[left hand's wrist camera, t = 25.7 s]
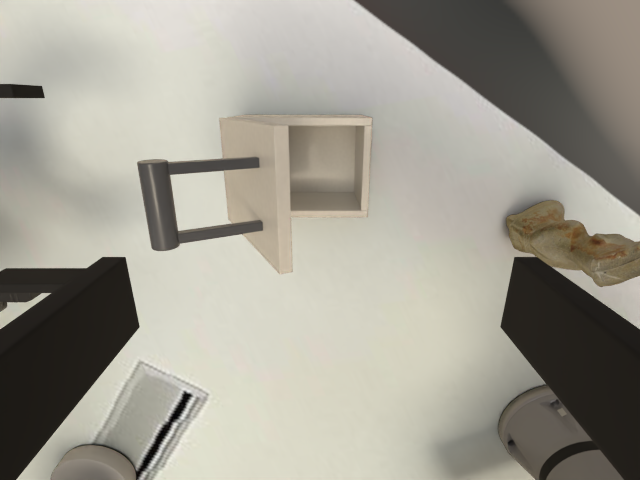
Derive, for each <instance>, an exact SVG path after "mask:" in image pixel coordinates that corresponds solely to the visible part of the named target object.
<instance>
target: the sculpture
mask: <svg viewBox="0 0 640 480" xmlns="http://www.w3.org/2000/svg"><path fill="white" fill-rule="evenodd" d="M506 223H507V227H508V228H509V232H510V233H509V237H510V240H511V242H512V245H513V247H514V248H515V249H517V250H519V251H521V252H526V253H532V254H534V255H535V256H536V257H538V258H539V259H541V260H542V261H543V262H545V263H546V264H548V265H549V266H552V267H557V268H563V269H570V270H583V272H585V273H586V274H587V275H588V276H590V277H592V278H593V280H594V282H595V283H596V284H597V285H598V286H599V287H603V286H611V285H615V284H619V283H622V282H624V281H626V280H629V279H631V278H634V277H637V276H640V241H639V242H634V241H632V240H630V239H628V238H625V237H624V236H622V235H620V234H606V235H605V234H595V235H594V236H589V235H588V233H587V231H586V229H585V227H584V225H583V224H582V223H580V222H578V221H575V220H567V221H565V220H564V207H563V205H562V204H561V203H560V202H558V201H554V200H551V201H544V202H541V203H539V204H536V205H534V206H532V207H530V208H529V209H527V210H525V211H524V212H522V213H520V214H517V215H510V216H508V217H507V218H506Z"/></svg>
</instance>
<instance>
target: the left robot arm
mask: <svg viewBox="0 0 640 480" xmlns="http://www.w3.org/2000/svg"><path fill="white" fill-rule="evenodd" d="M138 328H139V322H138V317H137V312H136V307H135V302H134V297H133V292H132V287H131V282H130V278H129V273H128V268H127V263H126V258H125V257H102V258H101V259H99V260H98V261H97V262H95V263H94V264H92V265H91V266H89V267H88V268H87V269H85V270H84V271H82V272H81V273H80V274H78V275H77V276H75V277H74V278H72V279H71V280H70V281H68V282H67V283H65V284H64V285H63V286H61V287H60V288H58V289H57V290H55V291H54V292H53V293H51V294H50V295H48V296H47V297H46V298H44V299H43V300H41V301H40V302H39V303H37V304H36V305H34V306H33V307H31V308H30V309H29V310H27V311H26V312H24V313H23V314H22V315H20V316H19V317H17V318H16V319H14V320H13V321H12V322H10V323H9V324H7V325H6V326H5V327H3V328H2V329H0V480H16V479H17V478H18V477H19V475H20V474H21V473H22V472H23V470H24V469H25V468H26V467H27V466H28V464H29V463H30V462H31V461H32V459H33V458H34V457H35V456H36V454H37V453H38V452H39V451H40V449H41V448H42V447H43V446H44V445H45V443H46V442H47V441H48V440H49V438H50V437H51V436H52V435H53V433H54V432H55V431H56V430H57V428H58V427H59V426H60V425H61V423H62V422H63V421H64V420H65V419H66V417H67V416H68V415H69V414H70V412H71V411H72V410H73V409H74V407H75V406H76V405H77V404H78V402H79V401H80V400H81V399H82V397H83V396H84V395H85V394H86V393H87V391H88V390H89V389H90V388H91V386H92V385H93V384H94V383H95V381H96V380H97V379H98V378H99V376H100V375H101V374H102V373H103V372H104V370H105V369H106V368H107V367H108V365H109V364H110V363H111V362H112V360H113V359H114V358H115V357H116V355H117V354H118V353H119V352H120V350H121V349H122V348H123V347H124V346H125V344H126V343H127V342H128V341H129V339H130V338H131V337H132V336H133V334H134V333H135V332H136V331H137V329H138ZM501 328H502V329H503V331H504V332H505V333H506V334H507V336H508V337H509V338H510V339H511V341H512V342H513V343H514V344H515V346H516V347H517V348H518V349H519V350H520V352H521V353H522V354H523V355H524V357H525V358H526V359H527V360H528V362H529V363H530V364H531V365H532V367H533V368H534V369H535V370H536V372H537V373H538V374H539V375H540V376H541V378H542V379H543V380H544V381H545V383H546V384H547V386H542V387H538V388H535V389H532V390H530V391H527V392H525V393H524V394H522V395H520V396H519V397H517V398H516V399H515V400H513V401H512V402H511V403H510V404H509V405H508V406H507V408H506V409H505V410H504V412H503V414H502V416H501V418H500V421H499V426H498V431H499V436H500V438H501V440H502V442H503V444H504V446H505V448H506V450H507V451H508V453H509V454H510V455H511V456H512V457H513V458H514V459H515V460H516V461H517V462H518V463H519V464H520V465H521V466H522V467H523V468H524V469H525V470H526V471H527V472H529V473H530V474H531V475H532V476H533V477H534V478H535V479H536V480H640V329H638V328H637V327H635V326H634V325H633V324H631V323H630V322H628V321H627V320H626V319H624V318H623V317H621V316H620V315H618V314H617V313H616V312H614V311H613V310H611V309H610V308H609V307H607V306H606V305H604V304H603V303H601V302H600V301H599V300H597V299H596V298H594V297H593V296H592V295H590V294H589V293H587V292H586V291H585V290H583V289H582V288H580V287H579V286H577V285H576V284H575V283H573V282H572V281H570V280H569V279H568V278H566V277H565V276H563V275H562V274H560V273H559V272H558V271H556V270H555V269H553V268H552V267H551V266H549V265H548V264H546V263H545V262H543V261H542V260H541V259H539V258H538V257H515V258H514V263H513V268H512V273H511V278H510V282H509V287H508V292H507V297H506V302H505V307H504V312H503V317H502V322H501Z"/></svg>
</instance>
